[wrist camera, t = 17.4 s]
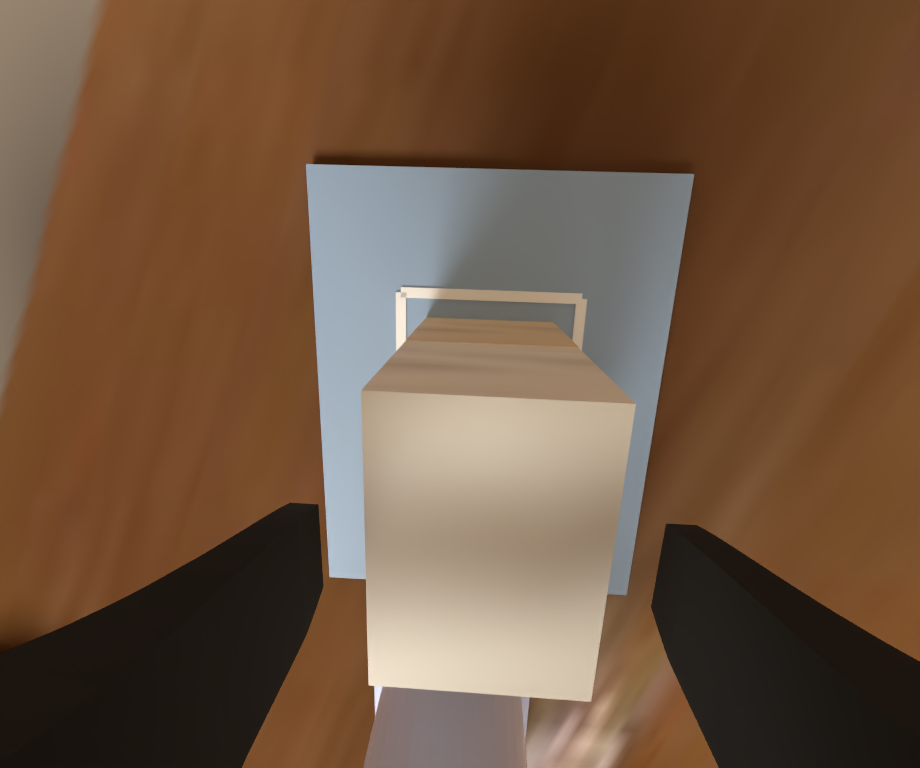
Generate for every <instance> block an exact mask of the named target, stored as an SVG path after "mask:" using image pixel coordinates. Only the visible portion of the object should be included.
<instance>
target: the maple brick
mask: <svg viewBox="0 0 920 768" xmlns="http://www.w3.org/2000/svg"><path fill="white" fill-rule="evenodd" d="M406 341H422V342H445V343H467V344H489V345H512V346H534V347H556V348H578V349H579V347H578V346H577V345H576V344H575V343H574V342H573V341H572V340H571V339H570V338H569V337H568V336H567V335H566V334H565V333H564V332H563V331H562V330H561V329H560V328H559V327H558V326H557V325H556V324H555V323H554V322H536V321H509V320H483V319H456V318H430V317H426V318H425V319H424V320H423V322H422V323H421V324H420V325H419V326H418V327H417V328H416V329H415V330H414V331H413V333H412V334H411V335H410V336H409V337H408V338H407V339H406Z"/></svg>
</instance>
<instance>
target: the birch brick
mask: <svg viewBox="0 0 920 768" xmlns="http://www.w3.org/2000/svg"><path fill="white" fill-rule="evenodd" d="M635 408H636V403H635V402H634V401H633V400H631V399H630V398H629V397H628V396H627V395H626V394H625V393H624V392H623V391H622V390H621V389H620V388H619V387H618V386H617V385H616V384H615V383H614V382H613V381H612V380H611V379H610V378H609V377H608V376H607V375H606V374H605V373H604V372H603V371H602V370H601V369H600V368H599V367H598V366H597V365H596V364H595V363H594V362H593V361H592V360H591V359H589V358H588V357H587V356H586V355H585V354H584V353H583V352H582V351H581V350H580V349H578V348H556V347H534V346H512V345H489V344H467V343H445V342H422V341H405V342H404V343H403V344H402V345H401V347H400V348H399V349H398V350H397V351H396V352H395V353H394V354H393V355H392V357H391V358H390V359H389V360H388V361H387V362H386V363H385V364H384V365H383V367H382V368H381V369H380V370H379V371H378V372H377V373H376V374H375V375H374V377H373V378H372V379H371V380H370V381H369V382H368V383H367V384H366V385H365V387H364V388H363V389H362V390H361V409H362V448H363V486H364V525H365V563H366V602H367V641H368V679H369V685H371V686H385V687H398V688H412V689H425V690H439V691H453V692H466V693H480V694H493V695H507V696H520V697H534V698H547V699H561V700H574V701H588V702H591V698H592V691H593V684H594V678H595V671H596V665H597V658H598V651H599V645H600V638H601V632H602V625H603V619H604V612H605V605H606V599H607V592H608V586H609V579H610V572H611V566H612V559H613V553H614V546H615V539H616V533H617V526H618V520H619V513H620V507H621V500H622V493H623V487H624V480H625V474H626V467H627V460H628V454H629V447H630V441H631V434H632V427H633V421H634V414H635Z"/></svg>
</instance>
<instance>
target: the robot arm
mask: <svg viewBox="0 0 920 768" xmlns="http://www.w3.org/2000/svg"><path fill="white" fill-rule="evenodd" d="M322 589H323V573H322V557H321V540H320V524H319V508H318V504H300V503H289V504H287V505H285V506H283V507H281V508H279V509H277V510H276V511H274V512H272V513H271V514H269V515H267V516H266V517H264V518H262V519H261V520H259V521H257V522H256V523H254V524H252V525H251V526H249V527H248V528H246V529H244V530H243V531H241V532H239V533H238V534H236V535H234V536H233V537H231V538H230V539H228V540H226V541H225V542H223V543H221V544H220V545H218V546H216V547H215V548H213V549H211V550H210V551H208V552H206V553H205V554H203V555H201V556H200V557H198V558H196V559H194V560H192V561H191V562H189V563H187V564H185V565H184V566H182V567H180V568H178V569H176V570H175V571H173V572H171V573H169V574H167V575H166V576H164V577H162V578H160V579H159V580H157V581H155V582H153V583H151V584H150V585H148V586H146V587H144V588H142V589H140V590H138V591H136V592H135V593H133V594H131V595H129V596H127V597H125V598H123V599H121V600H119V601H117V602H115V603H113V604H111V605H109V606H107V607H105V608H102V609H100V610H98V611H96V612H94V613H92V614H90V615H88V616H86V617H83V618H81V619H79V620H77V621H75V622H73V623H71V624H69V625H66V626H64V627H62V628H60V629H57V630H55V631H53V632H51V633H48V634H46V635H43V636H41V637H39V638H36V639H34V640H31V641H29V642H27V643H24V644H22V645H19V646H17V647H15V648H12V649H10V650H7V651H5V652H3V653H0V768H242V766H243V764H244V761H245V759H246V757H247V755H248V753H249V751H250V749H251V747H252V745H253V743H254V740H255V738H256V736H257V734H258V732H259V730H260V728H261V726H262V724H263V722H264V720H265V718H266V716H267V714H268V712H269V710H270V708H271V706H272V704H273V702H274V700H275V698H276V696H277V694H278V692H279V690H280V688H281V686H282V684H283V682H284V680H285V678H286V676H287V674H288V672H289V670H290V668H291V666H292V663H293V661H294V659H295V657H296V655H297V653H298V651H299V649H300V647H301V645H302V643H303V641H304V639H305V636H306V634H307V632H308V629H309V626H310V624H311V621H312V618H313V615H314V613H315V610H316V607H317V604H318V601H319V598H320V595H321V592H322ZM651 608H652V611H653V614H654V617H655V621H656V624H657V627H658V630H659V633H660V636H661V639H662V642H663V645H664V648H665V651H666V654H667V657H668V659H669V661H670V664H671V666H672V668H673V670H674V673H675V675H676V677H677V679H678V681H679V683H680V686H681V688H682V690H683V692H684V694H685V696H686V699H687V701H688V703H689V705H690V707H691V709H692V711H693V714H694V716H695V718H696V720H697V722H698V724H699V726H700V728H701V731H702V733H703V735H704V737H705V739H706V741H707V743H708V745H709V748H710V750H711V752H712V754H713V756H714V758H715V760H716V762H717V765H718V767H719V768H920V661H918V660H916V659H914V658H912V657H910V656H908V655H907V654H905V653H903V652H901V651H900V650H898V649H896V648H894V647H892V646H891V645H889V644H887V643H885V642H884V641H882V640H880V639H878V638H877V637H875V636H873V635H872V634H870V633H868V632H867V631H865V630H863V629H862V628H860V627H858V626H857V625H855V624H853V623H852V622H850V621H848V620H847V619H845V618H843V617H842V616H840V615H838V614H836V613H835V612H833V611H832V610H830V609H828V608H827V607H825V606H824V605H822V604H820V603H819V602H817V601H816V600H814V599H812V598H811V597H809V596H808V595H806V594H804V593H803V592H801V591H800V590H798V589H797V588H795V587H793V586H792V585H790V584H789V583H787V582H786V581H784V580H783V579H781V578H780V577H778V576H776V575H775V574H773V573H772V572H770V571H769V570H767V569H766V568H764V567H763V566H761V565H760V564H758V563H757V562H755V561H754V560H752V559H751V558H749V557H747V556H746V555H744V554H743V553H741V552H740V551H738V550H737V549H735V548H734V547H732V546H731V545H729V544H727V543H726V542H724V541H723V540H721V539H720V538H718V537H716V536H715V535H713V534H711V533H710V532H708V531H706V530H704V529H703V528H701V527H699V526H697V525H681V524H666V528H665V533H664V539H663V544H662V550H661V555H660V561H659V566H658V572H657V578H656V583H655V589H654V594H653V600H652V605H651ZM374 694H375V719H374V724H373V728H372V732H371V737H370V741H369V745H368V749H367V754H366V758H365V762H364V766H363V768H527V760H526V748H525V740H526V729H527V719H528V709H529V698H530V697H520V696H507V695H493V694H480V693H466V692H453V691H439V690H425V689H412V688H398V687H385V686H374Z"/></svg>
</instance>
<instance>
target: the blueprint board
mask: <svg viewBox="0 0 920 768" xmlns="http://www.w3.org/2000/svg"><path fill="white" fill-rule="evenodd" d="M306 172H307V190H308V207H309V225H310V242H311V260H312V277H313V295H314V312H315V329H316V347H317V364H318V382H319V399H320V417H321V434H322V452H323V469H324V487H325V504H326V522H327V539H328V557H329V574H330V577H338V578H354V579H366V563H365V525H364V486H363V448H362V409H361V390H362V389H363V388H364V387H365V385H366V384H367V383H368V382H369V381H370V380H371V379H372V378H373V377H374V375H375V374H376V373H377V372H378V371H379V370H380V369H381V368H382V367H383V365H384V364H385V363H386V362H387V361H388V360H389V359H390V358H391V357H392V355H393V354H394V353H395V352H396V351H397V350H398V349H399V348H400V347H401V345H402V344H403V343H404V342H405V341H406V339H407V338H408V337H409V336H410V335H411V334H412V333H413V331H414V330H415V329H416V328H417V327H418V326H419V325H420V324H421V323H422V322H423V320H424V319H425V318H426V317H430V318H456V319H483V320H509V321H536V322H554V323H555V324H556V325H557V326H558V327H559V328H560V329H561V330H562V331H563V332H564V333H565V334H566V335H567V336H568V337H569V338H570V339H571V340H572V341H573V342H574V343H575V344H576V345H577V346H578V347H579V349H580V350H581V351H582V352H583V353H584V354H585V355H586V356H587V357H588V358H589V359H591V360H592V361H593V362H594V363H595V364H596V365H597V366H598V367H599V368H600V369H601V370H602V371H603V372H604V373H605V374H606V375H607V376H608V377H609V378H610V379H611V380H612V381H613V382H614V383H615V384H616V385H617V386H618V387H619V388H620V389H621V390H622V391H623V392H624V393H625V394H626V395H627V396H628V397H629V398H630V399H631V400H633V401H634V402H635V403H636V408H635V414H634V421H633V427H632V434H631V441H630V447H629V454H628V460H627V467H626V474H625V480H624V487H623V493H622V500H621V507H620V513H619V520H618V526H617V533H616V539H615V546H614V553H613V559H612V566H611V572H610V579H609V586H608V592H607V594H615V595H627V589H628V583H629V577H630V571H631V564H632V558H633V552H634V546H635V540H636V533H637V527H638V521H639V515H640V509H641V502H642V496H643V490H644V484H645V477H646V471H647V465H648V459H649V453H650V446H651V440H652V434H653V428H654V422H655V415H656V409H657V403H658V397H659V390H660V384H661V378H662V372H663V366H664V359H665V353H666V347H667V341H668V335H669V328H670V322H671V316H672V310H673V304H674V297H675V291H676V285H677V279H678V272H679V266H680V260H681V254H682V248H683V241H684V235H685V229H686V223H687V217H688V210H689V204H690V198H691V192H692V185H693V179H694V174H673V173H634V172H595V171H556V170H517V169H478V168H439V167H400V166H361V165H322V164H306Z"/></svg>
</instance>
